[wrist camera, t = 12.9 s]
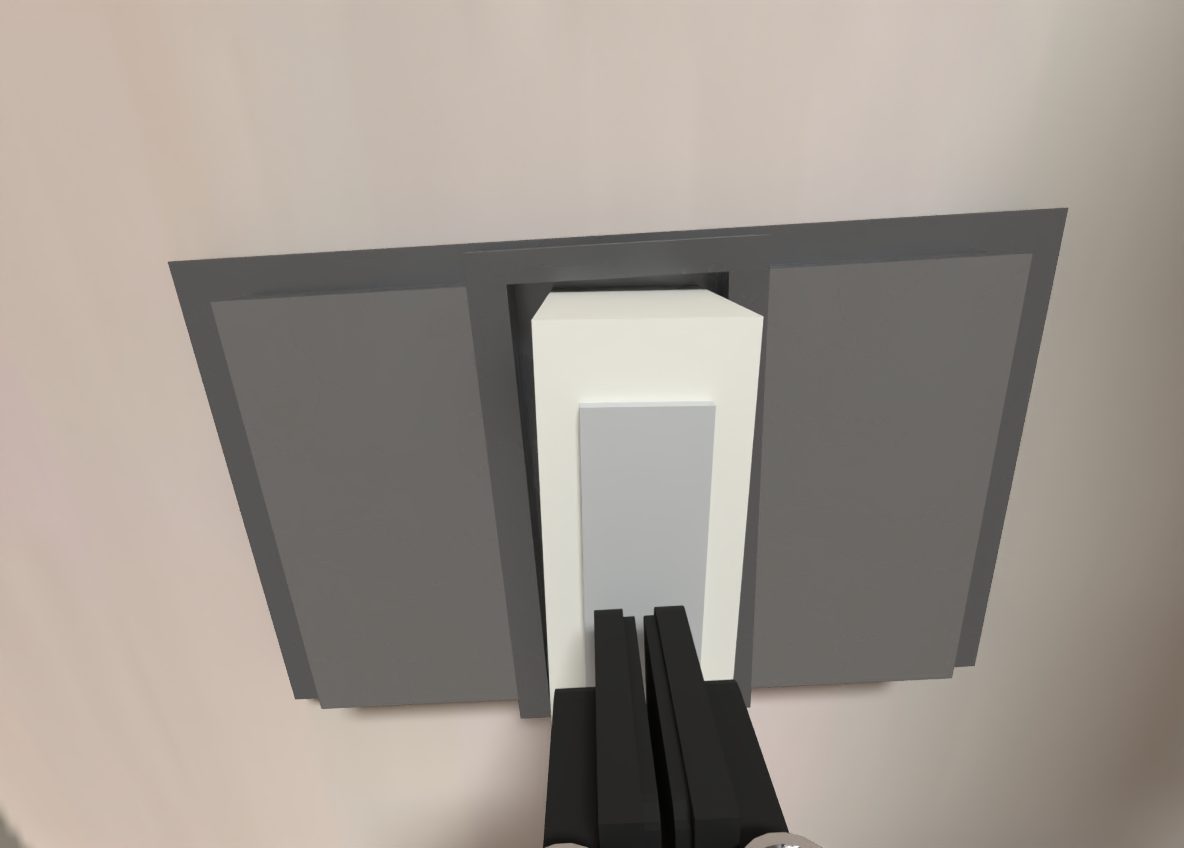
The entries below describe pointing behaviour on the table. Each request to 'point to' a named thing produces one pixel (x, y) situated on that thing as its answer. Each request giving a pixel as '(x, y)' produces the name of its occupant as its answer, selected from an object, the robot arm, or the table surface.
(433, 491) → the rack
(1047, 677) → the table surface
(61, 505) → the table surface
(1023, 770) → the table surface
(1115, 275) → the table surface
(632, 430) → the blanking panel
